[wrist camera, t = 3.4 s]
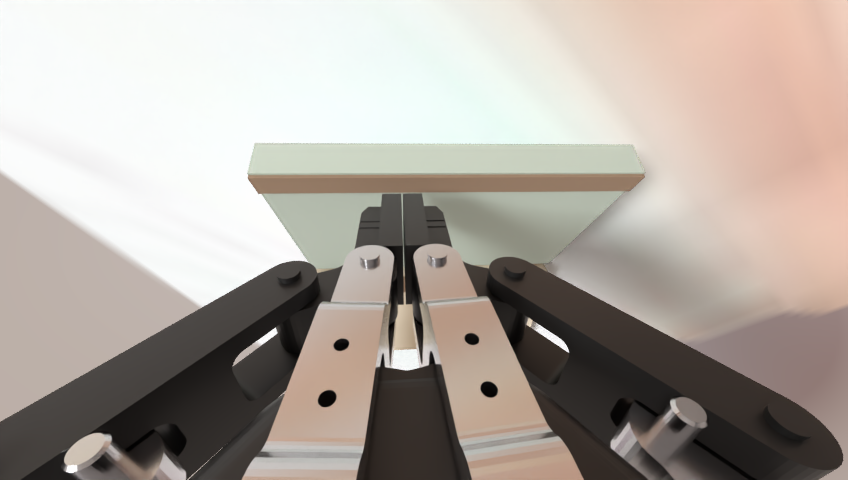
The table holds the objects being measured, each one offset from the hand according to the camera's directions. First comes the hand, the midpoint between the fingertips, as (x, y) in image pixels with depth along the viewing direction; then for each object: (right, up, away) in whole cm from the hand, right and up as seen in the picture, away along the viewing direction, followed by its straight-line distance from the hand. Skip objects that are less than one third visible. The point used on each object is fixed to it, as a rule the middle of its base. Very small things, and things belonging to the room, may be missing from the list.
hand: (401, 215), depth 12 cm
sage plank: (+2, +1, +5) cm, 6 cm away
